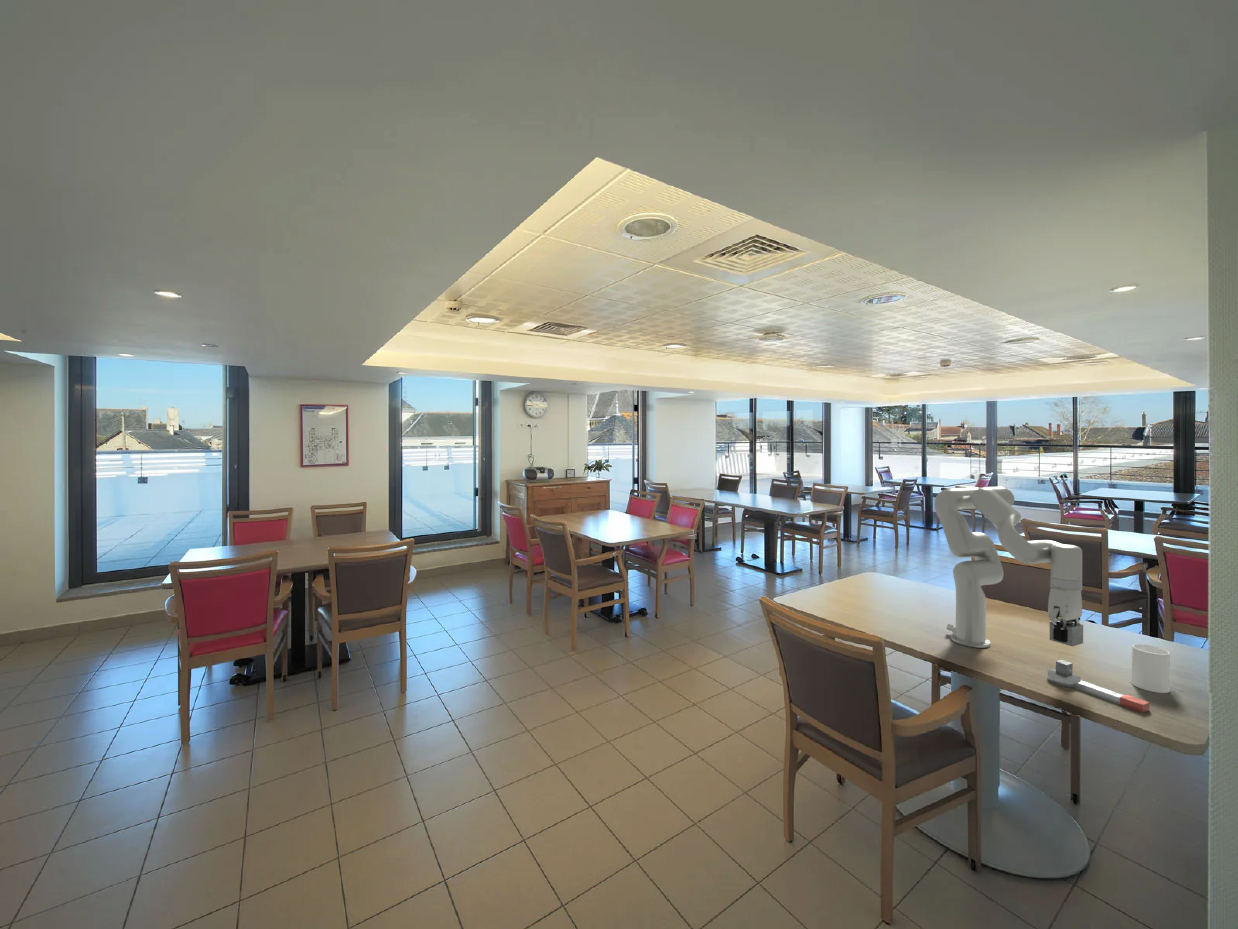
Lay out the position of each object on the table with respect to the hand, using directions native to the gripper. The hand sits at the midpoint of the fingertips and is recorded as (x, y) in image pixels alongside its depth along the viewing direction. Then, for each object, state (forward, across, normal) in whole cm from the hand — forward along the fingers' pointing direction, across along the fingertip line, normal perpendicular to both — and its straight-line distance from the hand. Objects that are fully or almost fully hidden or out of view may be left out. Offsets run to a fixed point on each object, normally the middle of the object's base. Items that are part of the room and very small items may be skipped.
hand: (1066, 638), depth 159 cm
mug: (+15, -22, +12) cm, 29 cm away
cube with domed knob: (+1, 0, 0) cm, 1 cm away
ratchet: (+14, 0, +7) cm, 16 cm away
